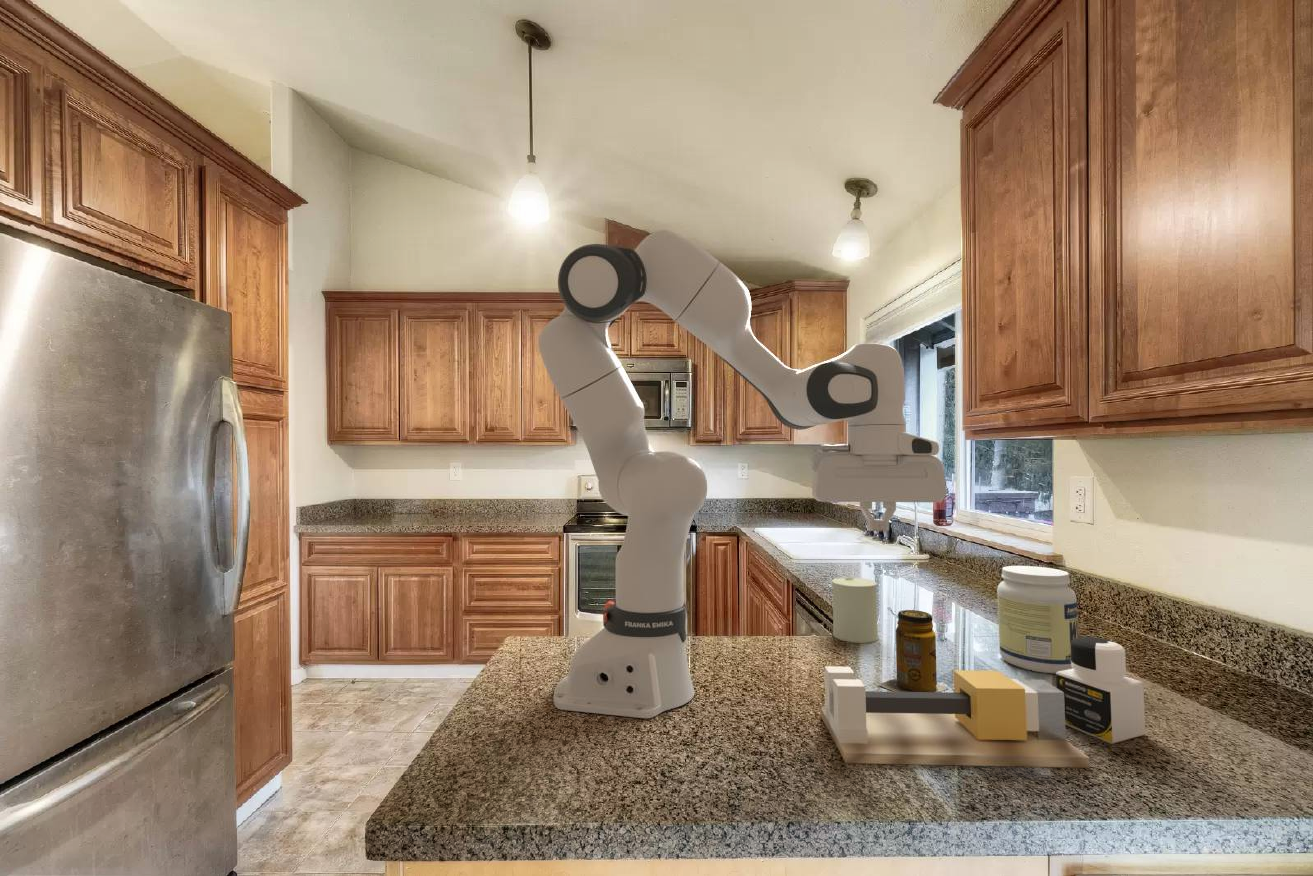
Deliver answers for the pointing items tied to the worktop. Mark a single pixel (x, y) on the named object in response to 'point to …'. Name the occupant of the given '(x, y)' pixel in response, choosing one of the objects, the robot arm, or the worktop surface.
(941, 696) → the dark gray bar
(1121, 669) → the medicine bottle
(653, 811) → the worktop surface
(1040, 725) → the block
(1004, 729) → the sleeve
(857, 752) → the board
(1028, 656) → the supplement tub
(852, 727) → the white bar support
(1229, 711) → the worktop surface
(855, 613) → the can
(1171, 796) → the worktop surface
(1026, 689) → the white rectangular block
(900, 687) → the condiment
